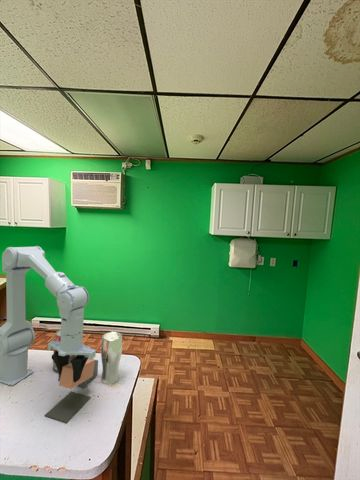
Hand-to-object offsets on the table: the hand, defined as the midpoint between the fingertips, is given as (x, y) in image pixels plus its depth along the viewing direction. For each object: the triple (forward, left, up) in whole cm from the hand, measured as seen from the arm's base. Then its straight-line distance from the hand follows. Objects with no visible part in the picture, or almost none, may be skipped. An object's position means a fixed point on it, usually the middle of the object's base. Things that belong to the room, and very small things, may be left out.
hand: (70, 378), depth 67 cm
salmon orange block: (0, +3, -3) cm, 4 cm away
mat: (0, 0, -8) cm, 8 cm away
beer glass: (+4, +15, -9) cm, 18 cm away
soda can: (-15, +15, -9) cm, 23 cm away
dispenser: (-6, +12, -8) cm, 15 cm away
